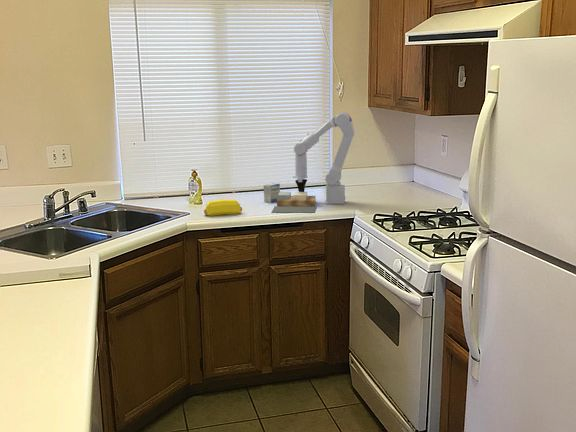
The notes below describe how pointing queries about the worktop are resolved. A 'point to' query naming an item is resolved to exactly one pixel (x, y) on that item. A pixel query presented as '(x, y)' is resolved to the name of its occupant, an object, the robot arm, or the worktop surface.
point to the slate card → (284, 195)
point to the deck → (297, 202)
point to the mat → (294, 209)
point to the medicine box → (271, 192)
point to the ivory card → (300, 195)
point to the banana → (222, 207)
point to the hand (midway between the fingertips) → (301, 194)
